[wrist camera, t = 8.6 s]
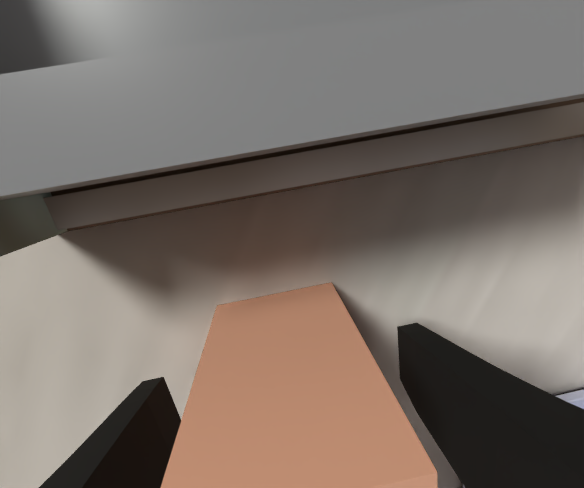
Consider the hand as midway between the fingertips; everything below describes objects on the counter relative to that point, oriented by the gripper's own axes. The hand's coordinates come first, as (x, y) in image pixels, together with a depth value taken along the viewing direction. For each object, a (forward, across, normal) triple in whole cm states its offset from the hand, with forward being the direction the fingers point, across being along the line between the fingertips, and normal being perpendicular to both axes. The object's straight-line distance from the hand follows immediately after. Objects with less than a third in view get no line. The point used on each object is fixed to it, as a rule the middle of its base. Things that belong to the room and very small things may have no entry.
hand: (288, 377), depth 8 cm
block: (+2, 0, 0) cm, 2 cm away
